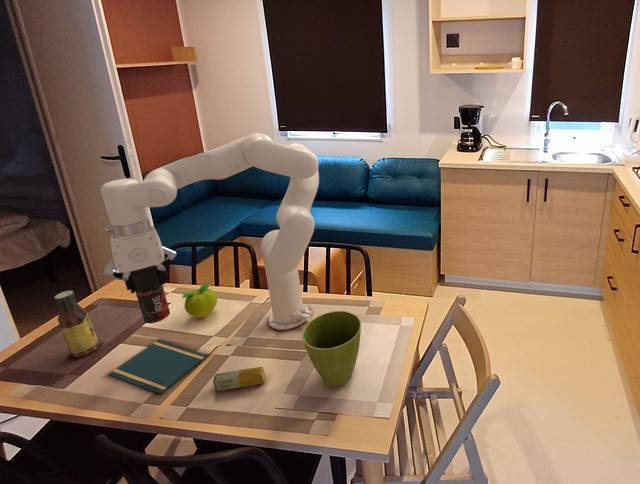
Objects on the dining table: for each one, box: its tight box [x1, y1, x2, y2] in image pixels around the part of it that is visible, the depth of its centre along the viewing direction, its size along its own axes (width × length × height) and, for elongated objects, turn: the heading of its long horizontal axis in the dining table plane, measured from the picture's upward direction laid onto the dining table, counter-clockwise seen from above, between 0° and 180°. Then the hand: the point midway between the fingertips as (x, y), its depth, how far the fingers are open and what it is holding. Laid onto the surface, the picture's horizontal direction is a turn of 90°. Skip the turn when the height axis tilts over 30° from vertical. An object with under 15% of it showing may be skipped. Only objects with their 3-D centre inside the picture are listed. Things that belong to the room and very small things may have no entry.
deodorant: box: [130, 265, 171, 324], centre depth 106 cm, size 6×6×15 cm
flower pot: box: [301, 310, 362, 388], centre depth 105 cm, size 15×15×16 cm
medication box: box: [212, 366, 266, 392], centre depth 104 cm, size 12×3×4 cm, turn 101°
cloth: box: [108, 339, 208, 395], centre depth 111 cm, size 20×14×1 cm
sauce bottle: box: [53, 290, 99, 358], centre depth 113 cm, size 7×6×20 cm
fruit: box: [181, 283, 218, 318], centre depth 131 cm, size 9×9×10 cm
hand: (148, 285), depth 105 cm, fingers closed on deodorant, 6 cm apart
